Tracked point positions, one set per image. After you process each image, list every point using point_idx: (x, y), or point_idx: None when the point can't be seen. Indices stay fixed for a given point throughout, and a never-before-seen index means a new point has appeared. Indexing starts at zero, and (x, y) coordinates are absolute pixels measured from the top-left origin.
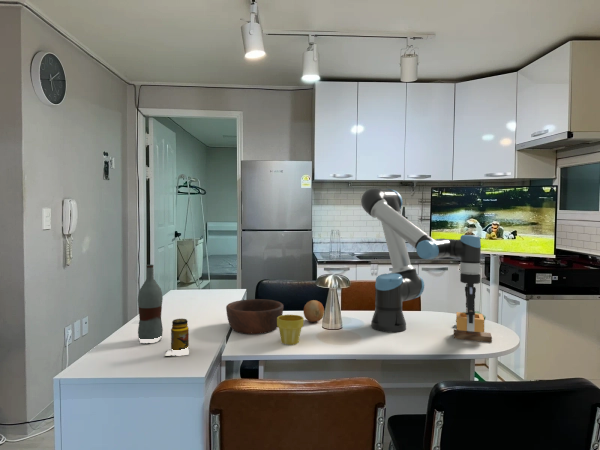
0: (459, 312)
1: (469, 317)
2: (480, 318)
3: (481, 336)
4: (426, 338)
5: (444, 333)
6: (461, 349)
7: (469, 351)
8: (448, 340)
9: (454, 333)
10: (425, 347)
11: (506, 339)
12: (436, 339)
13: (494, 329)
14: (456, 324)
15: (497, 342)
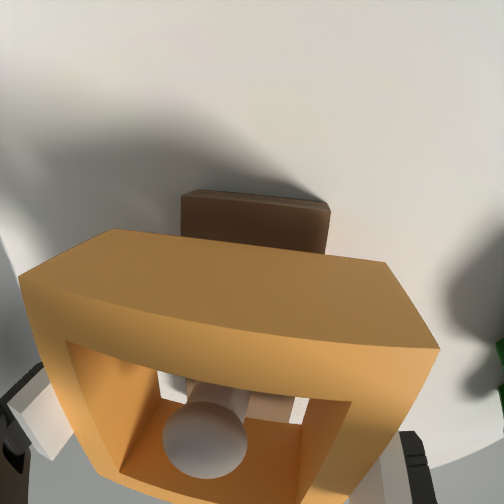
0: (399, 392)
1: (9, 392)
2: (123, 476)
3: (187, 381)
4: (140, 5)
5: (327, 122)
6: (24, 219)
7: (19, 253)
8: (130, 147)
9: (181, 201)
10: (14, 55)
11: None
12: (131, 65)
13: (445, 440)
14: (332, 257)
15: None
